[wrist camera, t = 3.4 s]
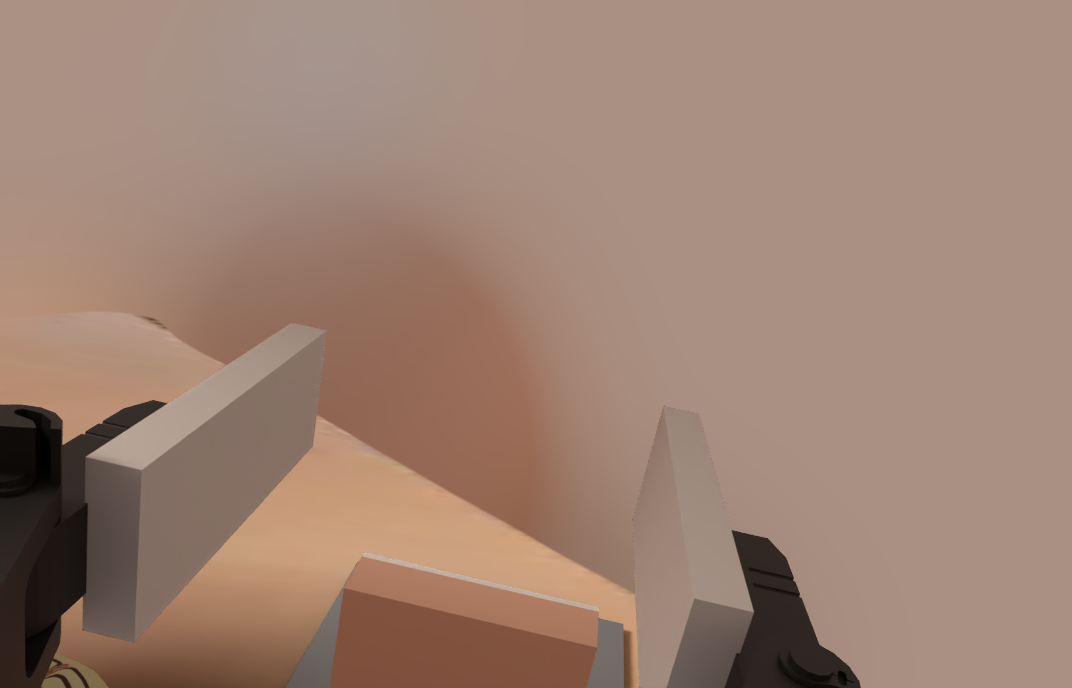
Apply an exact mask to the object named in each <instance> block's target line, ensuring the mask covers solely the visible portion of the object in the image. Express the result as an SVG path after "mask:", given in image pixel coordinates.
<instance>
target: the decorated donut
mask: <svg viewBox="0 0 1072 688" xmlns="http://www.w3.org/2000/svg"><path fill="white" fill-rule="evenodd" d="M41 688H109V687H108V686H107V685H106V684H105V682H104V681H103V680H102V679H101V678H100V677H99V676H98V674H97V673H96V672H95V671H94V670H92V669H91V668H89V667H87V666H84V665H83V664H81V663H79V662H77V661H75V660H72V659H69V658H68V657H66V656H63V655H61V654H59V653H57V652H56V653H55V656H54V658H53V660H52V663H51V665H50V667H49V670H48V672H47V674H46V676H45V679H44V681H43V683H42V686H41Z"/></svg>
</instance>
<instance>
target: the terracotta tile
mask: <svg viewBox="0 0 1072 688" xmlns="http://www.w3.org/2000/svg"><path fill="white" fill-rule="evenodd" d="M598 614H599V607H596V606H591V605H587V604H583V603H579V602H574V601H570V600H566V599H562V598H557V597H553V596H549V595H544V594H540V593H536V592H532V591H527V590H523V589H519V588H515V587H510V586H506V585H502V584H497V583H493V582H489V581H485V580H480V579H476V578H472V577H468V576H463V575H459V574H455V573H450V572H446V571H442V570H438V569H433V568H429V567H425V566H421V565H416V564H412V563H408V562H404V561H399V560H395V559H391V558H386V557H382V556H378V555H374V554H369V553H365V552H364V553H363V555H362V557H361V559H360V560H359V562H358V564H357V566H356V567H355V569H354V571H353V573H352V574H351V576H350V578H349V580H348V581H347V583H346V585H345V587H344V590H343V597H342V604H341V611H340V618H339V625H338V632H337V639H336V646H335V653H334V660H333V667H332V675H331V682H330V688H587V684H588V680H589V677H590V673H591V669H592V665H593V662H594V658H595V654H596V651H597V642H598Z"/></svg>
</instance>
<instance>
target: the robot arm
mask: <svg viewBox="0 0 1072 688" xmlns="http://www.w3.org/2000/svg"><path fill="white" fill-rule="evenodd" d="M325 340H326V330H321V329H316V328H312V327H308V326H303V325H299V324H295V323H291V324H289V325H288V326H287V327H285V328H283V329H282V330H280V331H279V332H277V333H276V334H274V335H273V336H271V337H269V338H268V339H266V340H265V341H263V342H262V343H260V344H259V345H257V346H256V347H254V348H253V349H251V350H249V351H248V352H246V353H245V354H243V355H242V356H240V357H239V358H237V359H236V360H234V361H233V362H231V363H230V364H228V365H226V366H225V367H223V368H222V369H220V370H219V371H217V372H216V373H214V374H212V375H211V376H209V377H208V378H206V379H205V380H203V381H202V382H200V383H199V384H197V385H196V386H194V387H192V388H191V389H189V390H188V391H186V392H185V393H183V394H182V395H180V396H179V397H177V398H176V399H174V400H172V401H171V402H169V403H163V402H159V401H155V400H152V401H149V402H145V403H142V404H138V405H134V406H131V407H127V408H124V409H122V410H121V411H119V412H117V413H116V414H114V415H112V416H111V417H109V418H107V419H106V420H104V421H103V423H102V424H97V425H96V426H94V427H92V428H91V429H89V430H87V431H86V433H85V435H84V434H81V435H79V436H77V437H76V438H74V439H72V440H71V441H69V442H67V443H66V444H64V445H62V425H63V421H62V420H61V418H60V417H59V416H58V415H57V414H56V413H54V412H51V411H49V410H46V409H43V408H41V407H34V406H27V405H0V688H41V686H42V683H43V681H44V679H45V676H46V674H47V672H48V670H49V667H50V665H51V663H52V660H53V658H54V656H55V653H56V651H57V649H58V646H59V644H60V637H61V615H62V614H63V613H65V612H66V611H67V610H68V609H69V608H70V607H71V606H72V605H73V604H75V603H76V602H77V601H78V600H79V599H80V598H81V597H82V596H83V630H84V631H88V632H92V633H96V634H101V635H105V636H109V637H113V638H117V639H121V640H126V641H130V642H135V641H136V640H137V639H138V638H139V637H140V636H141V635H142V634H143V633H144V631H145V630H146V629H147V628H148V627H149V626H150V625H151V624H152V623H153V622H154V620H155V619H156V618H157V617H158V616H159V615H160V614H161V613H162V612H163V611H164V609H165V608H166V607H167V606H168V605H169V604H170V603H171V602H172V601H173V600H174V598H175V597H176V596H177V595H178V594H179V593H180V592H181V591H182V590H183V589H184V587H185V586H186V585H187V584H188V583H189V582H190V581H191V580H192V579H193V578H194V576H195V575H196V574H197V573H198V572H199V571H200V570H201V569H202V568H203V567H204V565H205V564H206V563H207V562H208V561H209V560H210V559H211V558H212V557H213V556H214V554H215V553H216V552H217V551H218V550H219V549H220V548H221V547H222V546H223V545H224V543H225V542H226V541H227V540H228V539H229V538H230V537H231V536H232V535H233V533H234V532H235V531H236V530H237V529H238V528H239V527H240V526H241V525H242V524H243V522H244V521H245V520H246V519H247V518H248V517H249V516H250V515H251V514H252V513H253V511H254V510H255V509H256V508H257V507H258V506H259V505H260V504H261V503H262V502H263V500H264V499H265V498H266V497H267V496H268V495H269V494H270V493H271V492H272V491H273V489H274V488H275V487H276V486H277V485H278V484H279V483H280V482H281V481H282V480H283V478H284V477H285V476H286V475H287V474H288V473H289V472H290V471H291V470H292V469H293V467H294V466H295V465H296V464H297V463H298V462H299V461H300V460H301V459H302V458H303V456H304V455H305V454H306V453H307V452H308V451H309V450H310V449H311V448H312V447H313V441H314V432H315V424H316V415H317V407H318V398H319V390H320V381H321V373H322V365H323V356H324V347H325ZM632 520H633V543H634V570H635V594H636V619H637V644H638V669H639V688H861V687H860V682H859V680H858V679H857V677H856V676H855V675H854V673H853V672H852V670H851V669H850V667H849V666H848V665H847V664H845V663H844V662H843V661H842V660H841V659H840V658H839V657H837V656H836V655H835V654H834V653H832V652H831V651H829V650H827V649H825V648H824V647H822V646H820V645H819V643H818V640H817V637H816V635H815V632H814V630H813V627H812V624H811V622H810V619H809V616H808V614H807V611H806V609H805V606H804V603H803V601H802V598H799V595H800V593H799V590H798V588H797V585H796V582H794V581H793V579H794V577H793V575H792V572H791V569H790V567H789V564H788V561H787V559H786V557H785V556H784V555H783V554H782V553H781V552H780V551H779V550H778V549H777V548H776V547H775V546H774V545H773V544H772V542H770V540H769V539H768V538H763V537H759V536H754V535H750V534H746V533H741V532H737V531H733V530H731V527H730V524H729V520H728V516H727V513H726V509H725V506H724V502H723V498H722V495H721V491H720V487H719V484H718V480H717V476H716V473H715V469H714V466H713V462H712V458H711V455H710V451H709V447H708V444H707V440H706V437H705V433H704V430H703V426H702V422H701V419H700V415H699V414H698V413H693V412H689V411H684V410H680V409H675V408H671V407H666V406H663V409H662V412H661V416H660V420H659V423H658V427H657V431H656V435H655V438H654V442H653V446H652V449H651V453H650V457H649V460H648V464H647V468H646V472H645V475H644V479H643V483H642V486H641V490H640V494H639V498H638V501H637V505H636V508H635V512H634V516H633V519H632Z"/></svg>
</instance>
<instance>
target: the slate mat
mask: <svg viewBox="0 0 1072 688" xmlns="http://www.w3.org/2000/svg"><path fill="white" fill-rule="evenodd" d="M357 564H358V562H357ZM357 564H356V565H355V567H356V566H357ZM355 567H354V569H355ZM354 569H353V571H354ZM353 571H352V572H351V574H352V573H353ZM351 574H350V576H351ZM350 576H349V578H350ZM349 578H348V579H347V581H348V580H349ZM347 581H346V583H347ZM346 583H345V585H346ZM345 585H344V586H343V588H342V590H341V591H340V593H339V595H338V597H337V598H336V600H335V602H334V604H333V605H332V607H331V609H330V611H329V612H328V614H327V616H326V618H325V619H324V621H323V623H322V624H321V626H320V628H319V630H318V631H317V633H316V635H315V637H314V638H313V640H312V642H311V644H310V645H309V647H308V649H307V651H306V652H305V654H304V656H303V657H302V659H301V661H300V663H299V664H298V666H297V668H296V670H295V671H294V673H293V675H292V677H291V678H290V680H289V682H288V684H287V685H286V687H285V688H330V682H331V675H332V667H333V660H334V653H335V646H336V639H337V632H338V625H339V618H340V611H341V604H342V597H343V590H344V587H345ZM587 688H624V639H623V624H621V623H616V622H612V621H608V620H604V619H599V618H598V642H597V651H596V654H595V658H594V662H593V665H592V669H591V673H590V677H589V680H588V684H587Z"/></svg>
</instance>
